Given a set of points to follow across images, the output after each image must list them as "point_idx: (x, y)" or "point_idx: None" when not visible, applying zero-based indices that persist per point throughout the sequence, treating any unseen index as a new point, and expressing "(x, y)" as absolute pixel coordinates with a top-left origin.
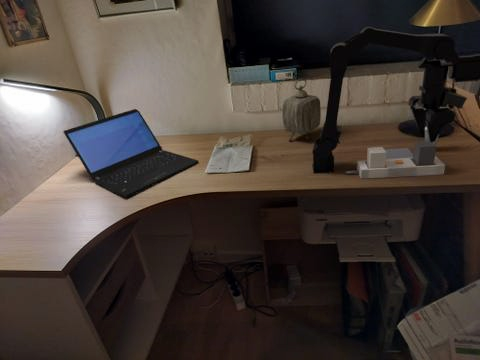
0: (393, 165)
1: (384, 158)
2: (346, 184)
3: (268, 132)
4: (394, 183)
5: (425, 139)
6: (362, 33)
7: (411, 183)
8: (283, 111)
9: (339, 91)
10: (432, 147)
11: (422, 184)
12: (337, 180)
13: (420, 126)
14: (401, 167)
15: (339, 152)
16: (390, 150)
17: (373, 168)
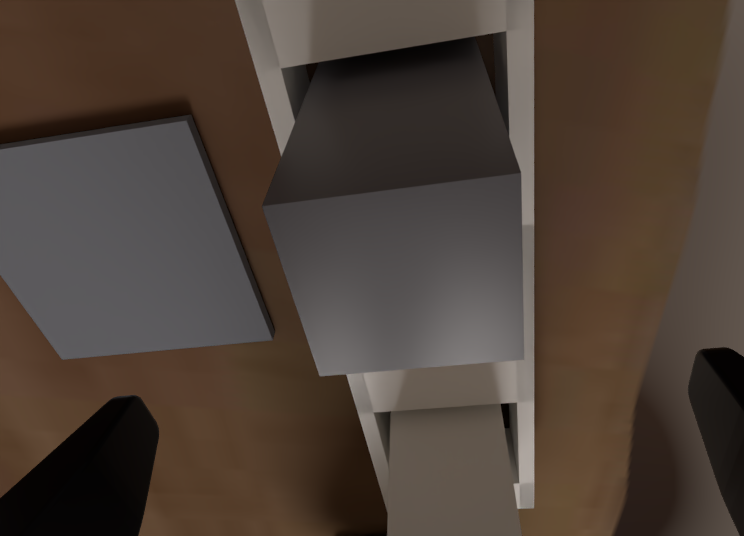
0: (479, 368)
1: (513, 485)
2: (584, 500)
3: None
4: (622, 319)
5: None
6: None
7: (648, 224)
8: None
9: None
10: (516, 214)
11: (686, 152)
12: (531, 523)
13: (122, 506)
14: (525, 329)
15: (161, 506)
16: (40, 292)
17: (519, 463)
